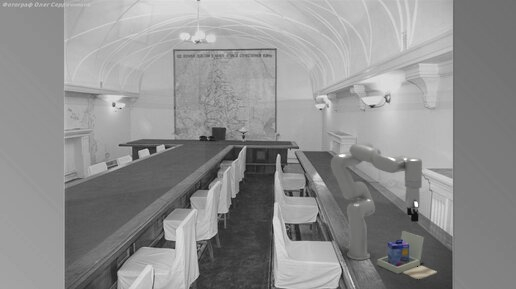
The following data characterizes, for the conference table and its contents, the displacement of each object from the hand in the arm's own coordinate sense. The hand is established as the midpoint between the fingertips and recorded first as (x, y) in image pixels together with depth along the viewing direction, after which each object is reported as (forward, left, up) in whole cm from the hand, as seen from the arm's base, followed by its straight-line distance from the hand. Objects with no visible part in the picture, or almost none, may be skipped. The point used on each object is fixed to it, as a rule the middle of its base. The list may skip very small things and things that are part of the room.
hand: (412, 218), depth 172 cm
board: (0, +5, -29) cm, 29 cm away
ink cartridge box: (-12, +4, -29) cm, 32 cm away
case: (-12, +6, -29) cm, 32 cm away
